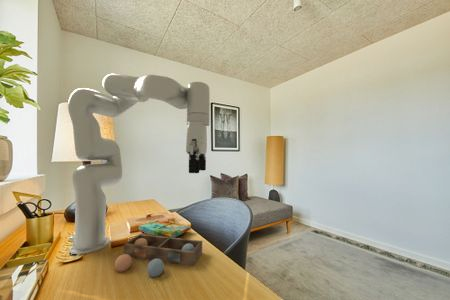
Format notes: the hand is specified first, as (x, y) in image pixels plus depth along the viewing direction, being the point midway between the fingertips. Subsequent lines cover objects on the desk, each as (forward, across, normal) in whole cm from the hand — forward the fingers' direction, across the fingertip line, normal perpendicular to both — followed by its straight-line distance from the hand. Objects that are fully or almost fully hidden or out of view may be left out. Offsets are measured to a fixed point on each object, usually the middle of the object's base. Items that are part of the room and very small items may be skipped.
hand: (197, 171), depth 60 cm
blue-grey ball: (+29, -1, -3) cm, 30 cm away
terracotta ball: (+30, +6, -22) cm, 37 cm away
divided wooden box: (+30, -2, -12) cm, 32 cm away
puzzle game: (+30, -19, -20) cm, 41 cm away
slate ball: (+30, +8, -11) cm, 33 cm away
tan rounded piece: (+29, -3, -22) cm, 37 cm away
